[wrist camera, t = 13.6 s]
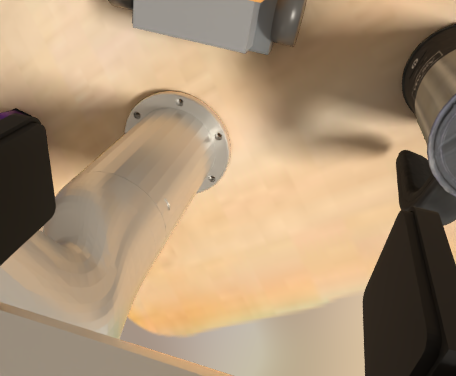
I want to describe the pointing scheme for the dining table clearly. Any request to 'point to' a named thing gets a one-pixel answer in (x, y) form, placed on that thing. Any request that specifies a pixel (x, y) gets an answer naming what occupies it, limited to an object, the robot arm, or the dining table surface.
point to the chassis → (221, 21)
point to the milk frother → (431, 127)
